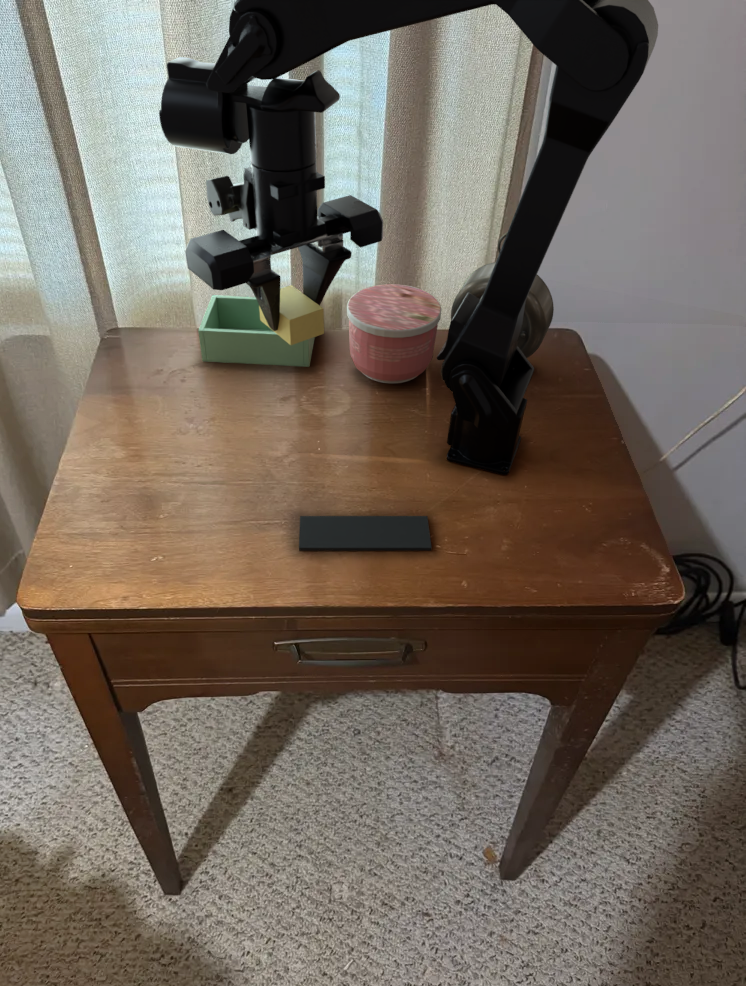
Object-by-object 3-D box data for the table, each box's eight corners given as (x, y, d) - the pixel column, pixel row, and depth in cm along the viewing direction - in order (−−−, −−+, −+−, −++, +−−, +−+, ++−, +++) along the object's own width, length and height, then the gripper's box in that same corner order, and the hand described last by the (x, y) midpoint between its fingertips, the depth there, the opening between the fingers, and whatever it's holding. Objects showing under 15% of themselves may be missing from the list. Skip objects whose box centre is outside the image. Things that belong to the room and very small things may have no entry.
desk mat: (427, 518, 71) (427, 515, 71) (431, 550, 68) (431, 547, 68) (300, 518, 71) (300, 515, 71) (298, 550, 68) (298, 547, 68)
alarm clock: (541, 365, 90) (573, 230, 78) (530, 389, 87) (562, 251, 75) (454, 344, 93) (472, 212, 82) (440, 366, 90) (456, 231, 78)
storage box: (316, 333, 95) (315, 299, 92) (309, 370, 89) (308, 335, 86) (216, 328, 95) (212, 294, 92) (202, 364, 89) (197, 330, 86)
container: (414, 403, 84) (421, 339, 79) (330, 379, 88) (330, 316, 82) (447, 357, 91) (455, 295, 85) (367, 337, 94) (370, 276, 88)
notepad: (292, 309, 80) (291, 284, 78) (324, 333, 76) (323, 308, 74) (260, 320, 78) (257, 295, 76) (290, 345, 75) (289, 320, 73)
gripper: (321, 116, 74) (323, 269, 85) (145, 155, 67) (173, 316, 78) (390, 149, 68) (383, 309, 79) (204, 195, 60) (225, 365, 71)
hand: (291, 322), depth 77 cm, fingers closed on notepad, 4 cm apart
